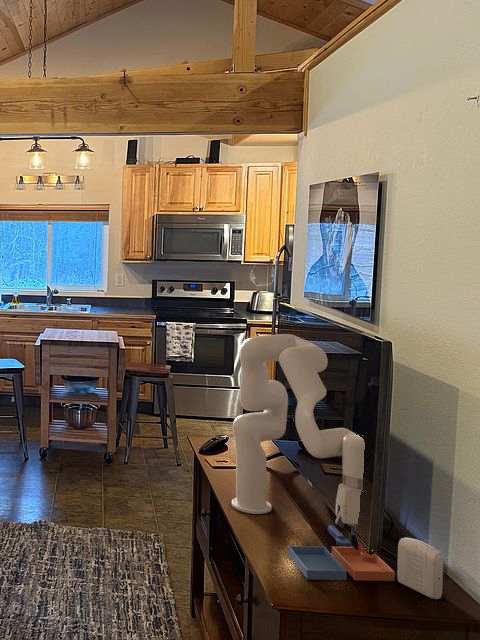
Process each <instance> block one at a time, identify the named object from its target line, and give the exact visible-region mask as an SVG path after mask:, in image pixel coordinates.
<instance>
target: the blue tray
mask: <svg viewBox="0 0 480 640" xmlns="http://www.w3.org/2000/svg"><path fill="white" fill-rule="evenodd" d="M287 556H289V558H290V559H291V560H292V563H294V564H295V566H296V567H297V568H298V569H299V571H300V572H301V574H302V575H303V576H304V577H305V579H306V580H317V581H319V580H321V581H347V578H348V575H347V574H348V572H347V571H346V570H345V569H344V567H343V566H342V565H341V564H340V563H339V562H338V561H337V560H336V559H335V558H334V556H333V555H332V552H330V551H329V550H328V549H327V547H326V546H322V545H321V546H320V545H319V546H317V545H316V546H315V545H312V546H311V545H287Z"/></svg>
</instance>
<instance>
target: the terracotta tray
mask: <svg viewBox="0 0 480 640" xmlns="http://www.w3.org/2000/svg"><path fill="white" fill-rule="evenodd" d="M331 554H332V555H333V556H334V558H335V559H336V560H337V561H338V562H339V563H340V564H341V565H342V566H343V567H344V569H345V570H346V571H347V574H348V575H349V576H350V577H351V578H352V579H353V580H354V581H367V582H368V581H369V582H370V581H371V582H372V581H376V582H377V581H378V582H395V577H396V573H395V571H394V569H392V567H390V566H389V564H387V563H386V562H385V561H384V560H383V559H382V558H381V557H380V556H378V555H377V562H374V563H371V562H366V561H364V560H362V559H361V554H360V553H359V552H358V551H357V550H355V549H354V548H353V547H352V546H351V547H339V546H331Z"/></svg>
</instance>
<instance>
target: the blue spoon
mask: <svg viewBox="0 0 480 640" xmlns="http://www.w3.org/2000/svg"><path fill="white" fill-rule="evenodd" d="M327 532H328V533H329V535H331V536H332V538H333V539H334V540H335V542H336V543H335V544H336V546H337V547H352V546H351V545H350V544H349V538H346V537H345V536H344V535H343V534H342V532H341V531H340V530H338V528H336V526H334V525H332V524H329V525H327Z"/></svg>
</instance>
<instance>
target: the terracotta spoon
mask: <svg viewBox="0 0 480 640" xmlns="http://www.w3.org/2000/svg"><path fill="white" fill-rule="evenodd" d="M357 551H358V552H359V553H360V554H361V559H362V560H364V561H366V562H371V563H374V562H377V556H378V554H377V553H375V554H372V555H370V554H368V553H367V551H366V550H365V549H364V548H363V546H362V545H361V544H360V543H359V542H358V549H357Z"/></svg>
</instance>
